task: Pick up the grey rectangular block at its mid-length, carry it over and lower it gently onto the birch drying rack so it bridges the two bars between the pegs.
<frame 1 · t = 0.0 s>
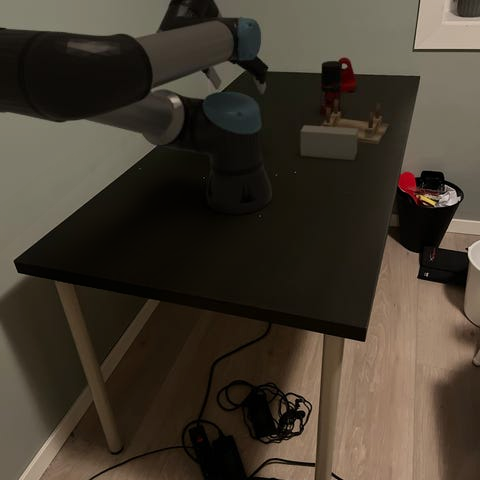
hand: (240, 87, 128), 15 cm above the table, tool tilted 35°, fingers open, 13 cm apart
deodorant: (329, 113, 150), on the table
grey rectangular block: (328, 155, 126), on the table
rack: (351, 131, 137), on the table
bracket: (342, 90, 166), on the table
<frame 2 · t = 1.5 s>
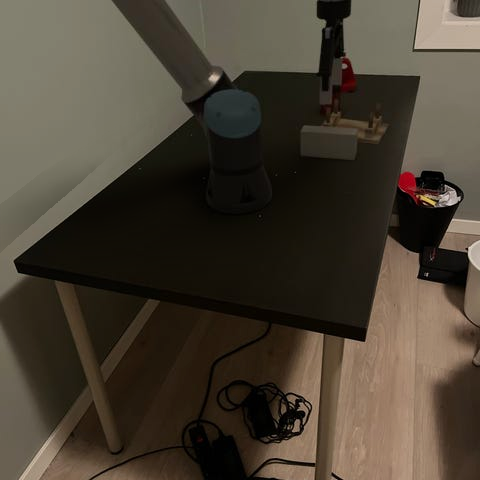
hand: (330, 93, 117), 16 cm above the table, tool pointing down, fingers open, 13 cm apart
nothing on the table moved.
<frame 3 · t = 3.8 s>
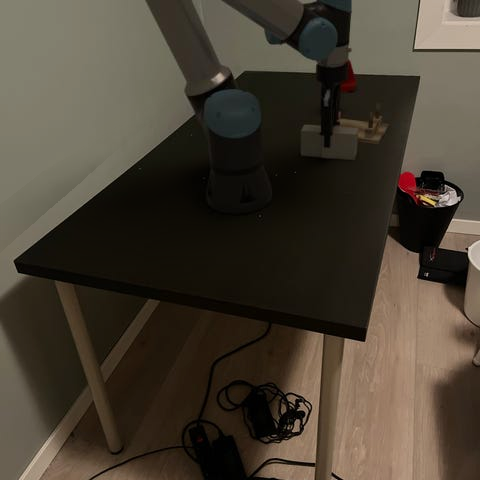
hand: (329, 153, 126), 0 cm above the table, tool pointing down, fingers closed on grey rectangular block, 4 cm apart
grey rectangular block: (328, 154, 126), on the table, touching gripper
everything else where it was.
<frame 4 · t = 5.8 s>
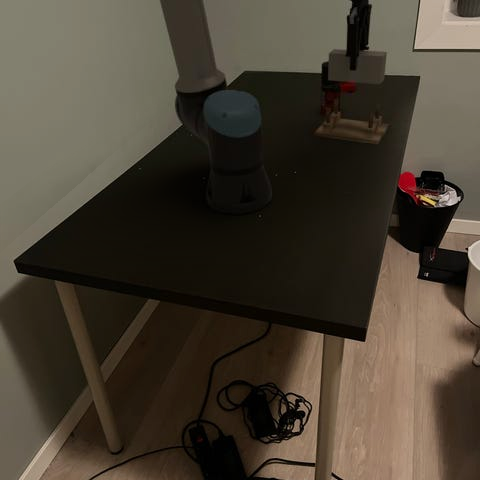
hand: (355, 78, 127), 15 cm above the table, tool pointing down, fingers closed on grey rectangular block, 4 cm apart
grey rectangular block: (355, 79, 127), point 15 cm above the table, touching gripper
everything else where it was.
when the fingers open (5 cm above the table, at t = 7.6 s): grey rectangular block stays where it is, resting on rack.
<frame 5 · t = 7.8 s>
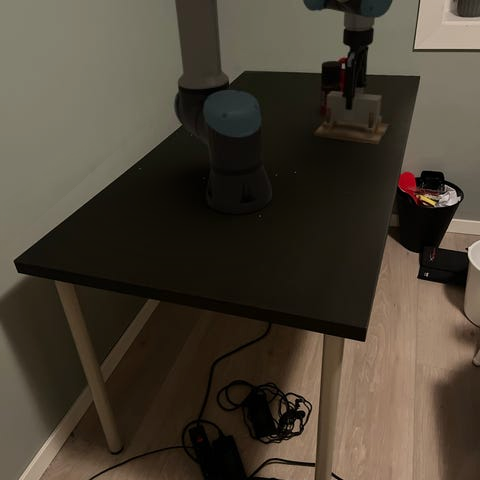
hand: (352, 115, 134), 5 cm above the table, tool pointing down, fingers open, 7 cm apart
grey rectangular block: (352, 120, 135), point 3 cm above the table, touching rack
everything else where it was.
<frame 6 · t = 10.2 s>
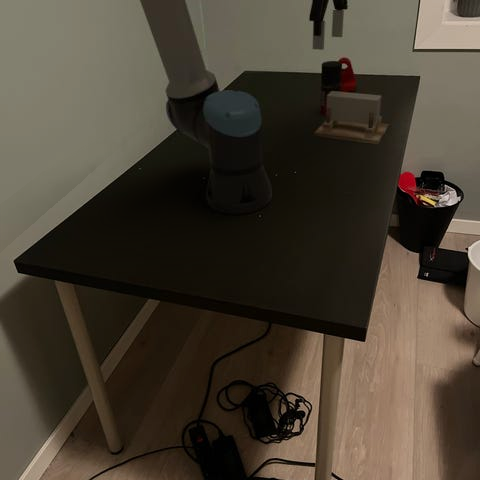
hand: (327, 42, 124), 25 cm above the table, tool pointing down, fingers open, 13 cm apart
nothing on the table moved.
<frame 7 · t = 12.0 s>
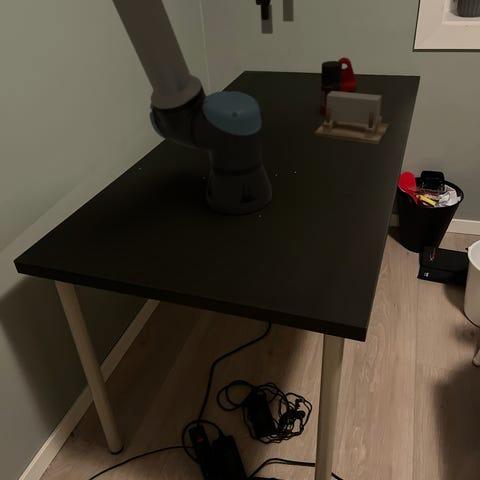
hand: (278, 27, 124), 29 cm above the table, tool pointing down, fingers open, 13 cm apart
nothing on the table moved.
at the end: grey rectangular block 0.0 cm off-centre on the rack, point 3.5 cm above the rack's base; grey rectangular block tilted 0°; the gripper is holding nothing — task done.
